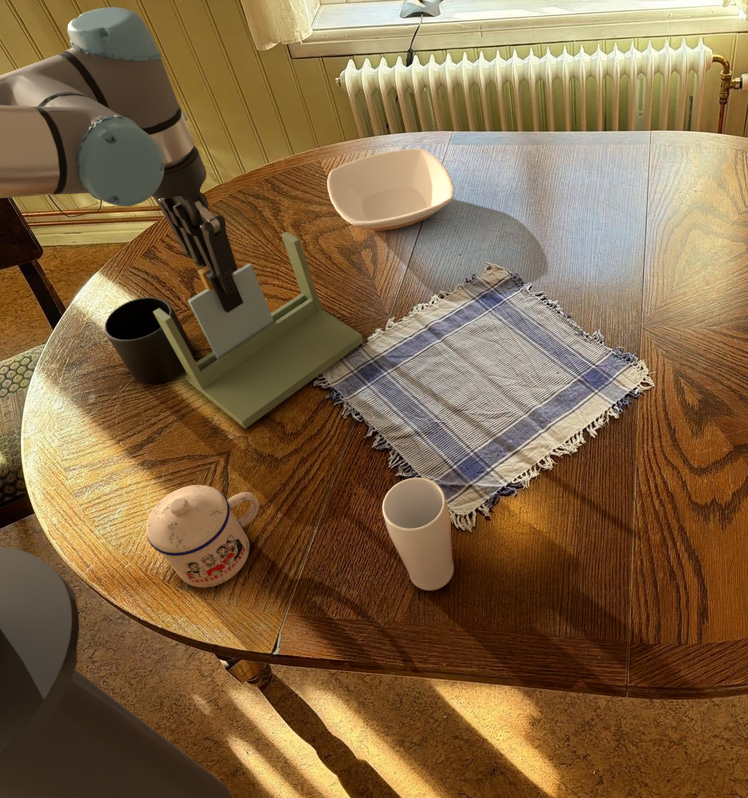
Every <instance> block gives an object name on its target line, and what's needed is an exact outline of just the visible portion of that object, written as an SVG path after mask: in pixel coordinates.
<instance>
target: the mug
mask: <svg viewBox="0 0 748 798" xmlns="http://www.w3.org/2000/svg"><path fill="white" fill-rule="evenodd" d="M158 308H160V309H161V310H163V311H164V312H165V313H166V314H168V315H169V316H170V317H172V319H173V321H174V323H175V325H176V327H177V328H178V330H179V332H180V334H181V336H182V338H183V340H184V342H185V343H186V345H187V347H188V349H189V351H190V353H191V355H192V357H193V358H194V359H195V354H196V353H195V348H194V346H193V344H192V342H191V340H190V338H189V336H188V334H187V333H186V331H185V329H184V327H183V325H182V324H181V322H180V319H179V317H178V315H177V314H176V312H175V310H174V308H173V306H172V304H170V302H169V301H167V300H166V299H163V298H161V297H157V296H156V297H155V296H142V297H138V298H135V299H131V300H129V301H126V302H124V303H122V304H121V305H119V306H117V307H116V308H114V309H113V310H112V311H111V312H110V313H109V315H108V316H107V317H106V319H105V321H104V323H103V331H104V334H105V336H106V337H107V340H108V341H109V342H110V343H111V345H112V347H113V348H114V350H115V352H116V353H117V355H118V356H119V357H120V359H121V361H122V362H123V364H124V365H125V366H126V368H127V370H128V372H129V373H130V375H131V376H132V377H133V378H134V379H135V380H136V381H138V382H140V383H143V384H148V385H157V384H162V383H167V382H171V381H172V380H175V379H177V378H179V377H180V376H182V375H183V374H184V373H186V371H185V369H184V367H183V365H182V363H181V362H180V360H179V358H178V356H177V354H176V353H175V351H174V349H173V347H172V345H171V344H170V342H169V340H168V338H167V336H166V335H165V333H164V331H163V329H162V327H161V326H160V324H159V322H158V320H157V318H156V317H155V315H154V313H153V311H155V310H157V309H158Z"/></svg>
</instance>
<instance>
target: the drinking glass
mask: <svg viewBox="0 0 748 798" xmlns="http://www.w3.org/2000/svg"><path fill="white" fill-rule="evenodd" d="M381 509H382V514H383V515H382V516H383V519H384V522H385V523H384V524H385V526H386V530H387V532H388V535H389V537H390V540H391V542H392V544H393V545H394V548H395V550H396V552H397V553H398V555H399V558H400V559H401V561H402V563H403V565H404V567H405V568H406V571H407V573H408V577H409V579H410V581H411V583H413V585H414V586H415V587H417V588H419V589H420V590H423V591H437V590H439V589H441V588H443V587H444V586H446V585H447V584H449V582H450V580H451V579H452V577H453V575H454V571H455V563H454V559H453V545H452V524H451V515H450V508H449V505H448V502H447V498H446V495H445V493H444V490H443V489H442V488H441V486H440V485H439V484H438V483H436V482H435V481H433V480H431V479H428V478H426V477H425V478H424V477H411V478H407V479H403V480H401V481H399V482H397V483H396V484H395V485H393V486H392V487H391V488H390V489H389V490H388V491H387V493H386V494H385V496H384V498H383V500H382V508H381Z"/></svg>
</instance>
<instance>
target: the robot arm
mask: <svg viewBox="0 0 748 798" xmlns="http://www.w3.org/2000/svg"><path fill="white" fill-rule="evenodd" d="M67 35H68V37H69V44H70V46H71V47H70V48H68V49H65V50H62V52H61V53H58V54H56V55H53V56H50V57H48V58H45V59H42V60H40V61H37V62H33V63H32V64H28V65H26V66H23V67H20V68H17V69H14V70H12V71H9V72H6V73H3V74H1V75H0V199H6V198H8V199H9V198H24V197H39V196H53V195H79V194H90V196H91V197H93V198H94V199H96V200H98V201H102V202H105V203H106V204H109V205H112V206H117V207H133V206H137V205H139V204H141V203H144V202H146V201H147V200H148V199H150V198H151V197H152V198H153V200H154V201H155V203H156V204H157V205H158V207H159V209H160V210H161V212H162V214H163V216H164V218H165V219H166V221H167V223H168V225H169V226H170V228H171V230H172V232H173V234H174V236H175V238H176V239H177V241H178V243H179V245H180V247H181V248H182V250H183V252H184V254H185V256H186V257H187V258H192V260H193V262H194V264H195V266H197V267H200V268H199V270H200V269H202V268H203V267H205V266H207V267H208V269H209V271H210V273H208V274H207V275H206V277H207V278H208V279H209V280H210V281H211V282H212V285H213V287H214V289H215V291H216V293H217V296H218V298H219V300H220V302H221V304H222V307H223V309H224V311H225V312H227V313H228V312H230V311H232V310H233V309H235V308H236V307H238V306H239V305H241V304H243V300H242V298H241V296H240V293H239V291H238V289H237V286H236V284H235V281H234V279H233V277H232V273H234V272H236V271H237V270H238V267H237V263H236V259H235V257H234V253H233V250H232V247H231V243H230V240H229V237H228V234H227V230H226V220H225V217H223V215H221V214H218V215H216V216H214V215H213V214H212V212H211V211H210V208H209V206H210V204H209V201H208V199H207V197H206V195H205V194H204V193H203V192H202V191H201V188H202V186H203V184H204V183H205V181H206V179H207V169H206V167H205V165H204V161H203V160H202V157H201V155H200V153H199V149H198V148H197V146H196V145H195V141H194V138H193V136H192V133H191V131H190V128H189V126H188V124H187V121H188V119H189V117H188V114H186V113H185V112H183V111H182V108H181V106H180V104H179V101H178V99H177V96H176V93H175V91H174V88H173V85H172V83H171V81H170V78H169V75H168V72H167V70H166V68H165V65H164V62H163V60H162V54H161V52H160V51H159V49H158V47H157V44H156V42H155V40H154V38H153V36H152V34H151V31H150V29H149V28H148V27H147V23H146V22H145V21H144V19H143V18H142V16H141V15H139V14H138V13H137V12H135V11H132V10H130V9H129V8H125V7H113V6H111V7H100V8H96V9H91V10H88V11H85V12H82V13H81V14H79V16H78V17H76V18H73V19H71V20H70V21H69V23H68V24H67Z"/></svg>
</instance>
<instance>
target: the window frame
mask: <svg viewBox="0 0 748 798" xmlns="http://www.w3.org/2000/svg"><path fill="white" fill-rule="evenodd" d="M281 238H282V241H283V243H284V247H285V250H286V252H287V255H288V259H289V261H290V264H291V267H292V270H293V274H294V276H295V278H296V282H297V285H298V288H299V290H300V294H298V295H297V296H295V297H294V298H292V299H291V300H289V301H287V302H286V303H285V304H283V305H281V306H280V307H278V308H277V309H275V310H273V311H272V312H270V313H271V315H272V318H273V320H274V323H272V324H271V325H269V326H268V327H266V328H265V329H263V330H262V331H260V332H259V333H257V334H256V335H254V336H253V337H251V338H250V339H248V340H247V341H245V342H244V343H242V344H241V345H239V346H238V347H236V348H235V349H233V350H232V351H230V352H229V353H227V354H226V355H224V356H223V357H221V358H220V359H218V360H217V358H216V356H215V354H214V352H213V351H211V352H210V353H208V354H207V355H205V356H204V357H202V358H200V359H199V360H198V361H196V360H195V357H194V358H193V357H192V355H191V353H190V351H189V349H188V347H187V345H186V343H185V342H184V340H183V338H182V336H181V334H180V332H179V330H178V328H177V327H176V325H175V323H174V321H173V319H172V317H170V316H169V315H168V314H166V313H165V312H164V311H163V310H161V309H160V308H158V309H157V310H155V311H153V313H154V315H155V317H156V318H157V320H158V322H159V324H160V326H161V327H162V329H163V331H164V333H165V335H166V336H167V338H168V340H169V342H170V344H171V345H172V347H173V349H174V351H175V353H176V354H177V356H178V358H179V360H180V362H181V363H182V365H183V367H184V369H185V373H186V375H185V378H186V381H188V383H189V384H190V385H191V386H192V387H194V388H195V389H196V390H197V391H198V392H200V393H201V394H202V395H203V396H205V398H207V399H209V401H210V402H212V403H213V404H214V405H215V406H217V407H218V408H219V409H221V410H222V411H223V412H224V413H225V414H227V415H228V416H229V417H230V418H231V419H232V420H234V421H235V422H236V423H237V424H239V425H240V426H241V427H242V428H244V429H247V428H248V427H250V426H251V425H253V424H254V423H255V422H257V421H258V420H260V419H261V418H262V417H264V416H265V415H267V413H269V412H271V411H272V410H273V409H275V408H276V407H278V406H279V405H280V404H281V403H283V402H284V401H286V400H287V399H288V398H290V397H291V396H293V395H294V394H295V393H296V392H298V391H299V390H300V389H302V388H303V387H305V386H306V385H308V384H309V383H310V382H311V381H313V380H314V379H315V378H317V377H318V376H320V375H321V374H322V373H323V372H325V371H326V370H328V369H329V368H330V367H331V366H333V365H335V364H336V363H337V362H338V361H340V360H341V359H343V358H345V356H347V355H348V354H349V353H351V352H352V351H353V350H355V349H356V348H358V347H359V346H360V345H362V344H363V343H364V338H363V335H362V334H361V333H360V332H358V331H356V330H355V329H353V328H352V327H351V326H349V325H347V324H345V322H343V321H342V320H340V319H338V318H337V317H336V316H334V315H332V314H330V313H328V312H327V311H326V310H324V309H323V308H322V304H321V302H320V298H319V296H318V293H317V289H316V286H315V283H314V280H313V278H312V274H311V271H310V268H309V266H308V262H307V259H306V256H305V252H304V249H303V246H302V243H301V240H300V238H298V237H297V236H295V235H293V234H291V233H290V232H288V231H286V232H284V233H282V234H281Z"/></svg>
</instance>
